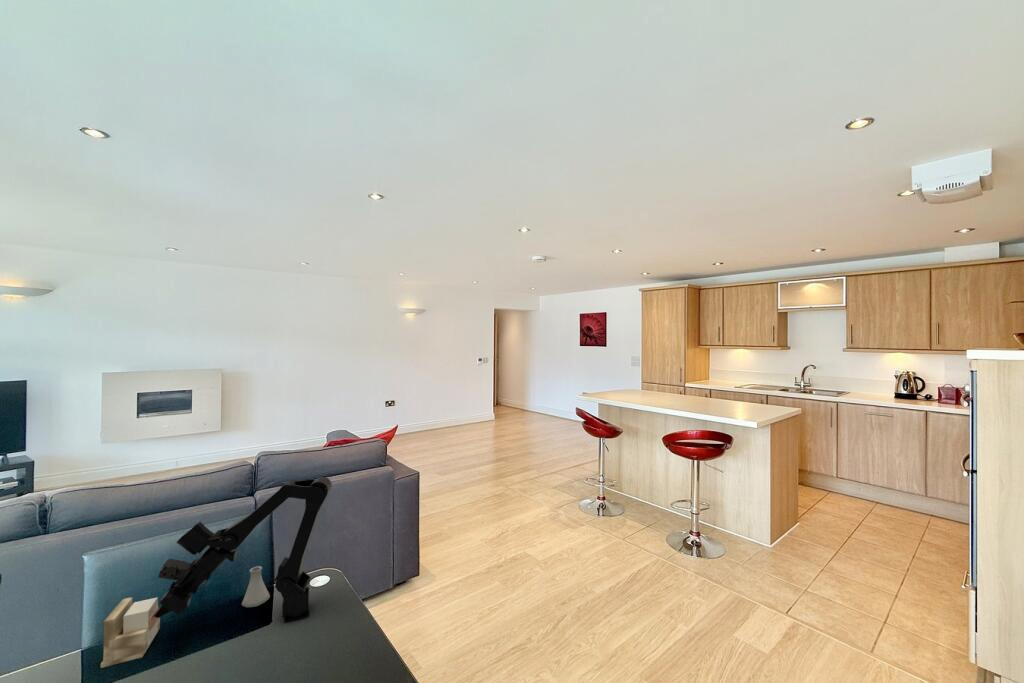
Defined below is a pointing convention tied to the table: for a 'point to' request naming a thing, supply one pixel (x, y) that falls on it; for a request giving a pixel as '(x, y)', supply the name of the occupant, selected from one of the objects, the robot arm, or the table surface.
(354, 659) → the table surface
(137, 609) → the white box
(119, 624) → the beige toy armchair
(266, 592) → the flask
